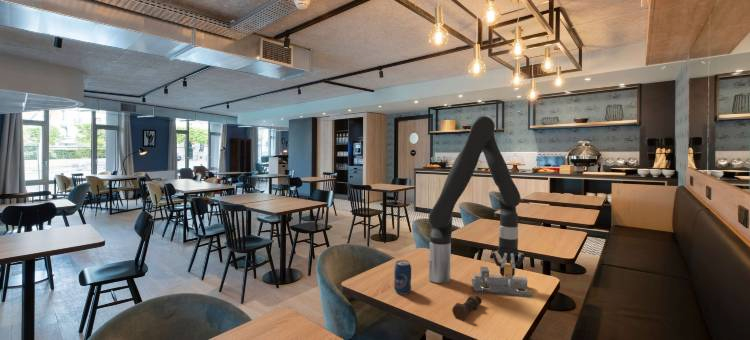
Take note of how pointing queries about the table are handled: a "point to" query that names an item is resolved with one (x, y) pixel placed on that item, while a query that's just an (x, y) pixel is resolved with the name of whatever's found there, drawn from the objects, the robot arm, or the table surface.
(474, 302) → the dark brown lobed piece
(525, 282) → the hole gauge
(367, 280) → the table surface
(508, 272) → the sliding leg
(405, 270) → the soda can
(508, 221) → the robot arm
